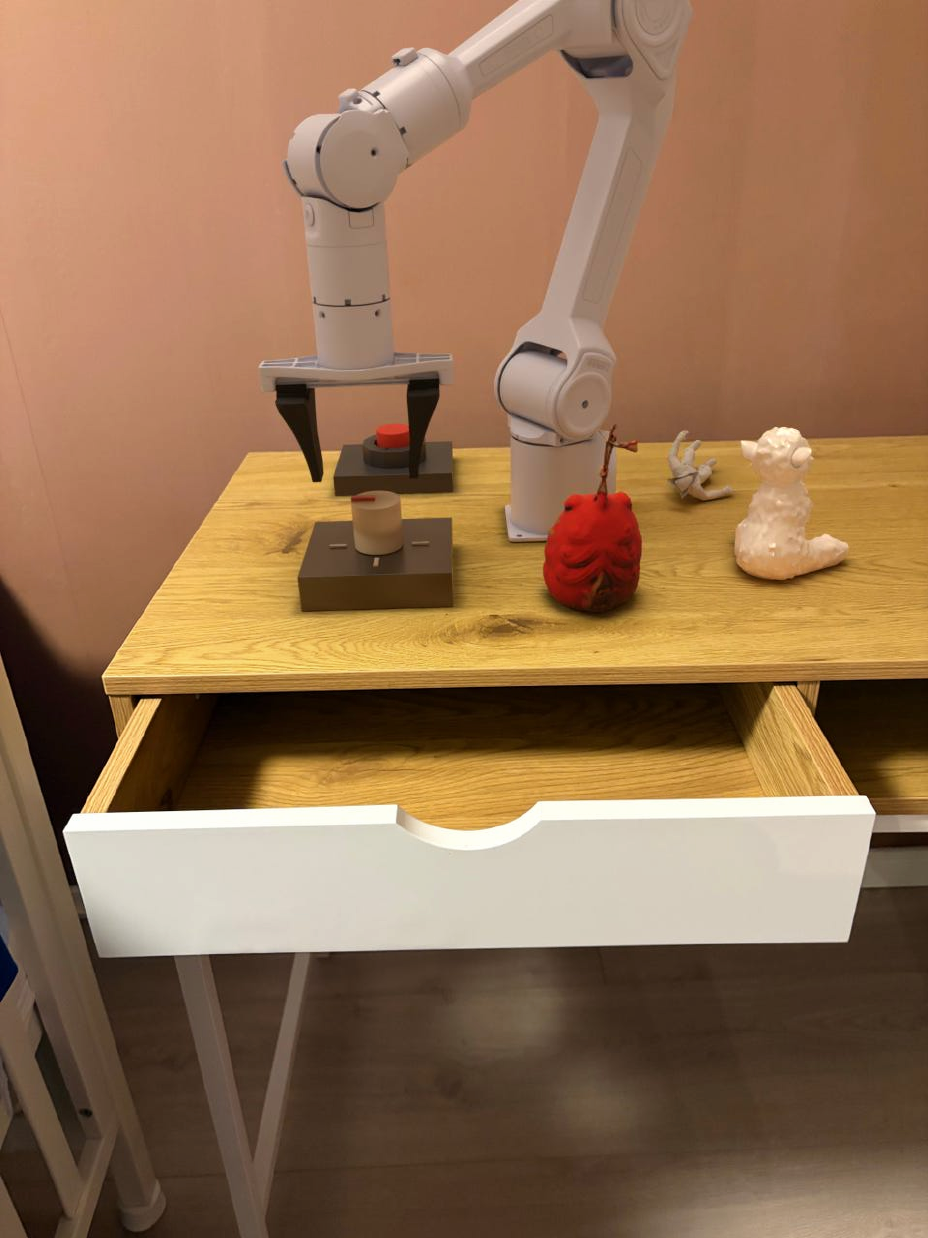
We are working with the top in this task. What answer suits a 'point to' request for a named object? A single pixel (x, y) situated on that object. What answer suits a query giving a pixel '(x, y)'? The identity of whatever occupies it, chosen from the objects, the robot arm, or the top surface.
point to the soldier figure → (691, 472)
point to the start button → (393, 436)
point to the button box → (393, 469)
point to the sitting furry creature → (781, 512)
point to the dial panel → (378, 569)
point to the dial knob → (377, 522)
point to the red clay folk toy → (595, 546)
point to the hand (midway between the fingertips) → (366, 476)
